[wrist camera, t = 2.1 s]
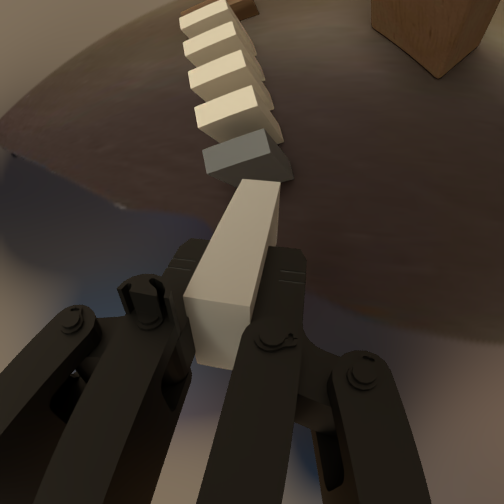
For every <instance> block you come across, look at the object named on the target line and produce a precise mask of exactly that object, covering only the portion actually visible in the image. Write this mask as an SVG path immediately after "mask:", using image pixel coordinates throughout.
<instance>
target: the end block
mask: <svg viewBox="0 0 504 504" xmlns="http://www.w3.org/2000/svg"><path fill="white" fill-rule="evenodd" d="M216 1H218V0H207V1H204V2H202V3H200V4H198V5H196V6H193V7H191V8H189V9H187V10H185V11H183V12H181V17H183V16H185V15H187V14H189V13H191V12H193V11H195V10H197V9H200V8H202V7H204V6H206V5H209V4H211V3H213V2H216ZM226 1H227V3H228V4H229V6H230V7H231V9H232V10H233V12H234V13H235V15H236V16H237V18H238V20H239V21H241V20H243V19H246V18H249V17H252V16H255V15H258V14H259V12H258V10H257V7H256V5H255V3H254V1H253V0H226Z"/></svg>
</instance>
